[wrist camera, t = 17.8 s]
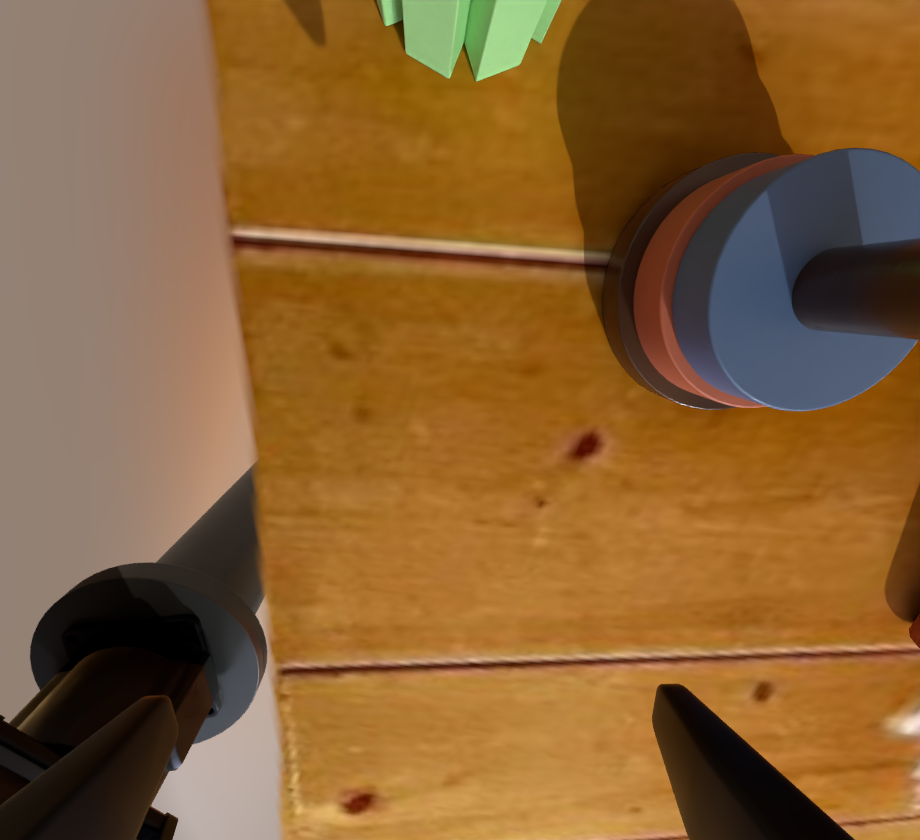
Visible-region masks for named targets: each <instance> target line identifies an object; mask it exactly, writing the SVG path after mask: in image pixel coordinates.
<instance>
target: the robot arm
mask: <svg viewBox="0 0 920 840" xmlns="http://www.w3.org/2000/svg"><path fill="white" fill-rule="evenodd" d="M187 624H189V625H191V626H188V625H187ZM61 641H62V643H63V646H64V649H65V651H66V654H67V657H68V659H69V662H68V663H67V664H66V665H65V666H64V667H63V668H62V669H61V670H60V671H59V672H58V673H57V674H56V675H55V676H54V677H53V678H52V679H51V680H50V681H49V682H48V683H47V684H46V686H45V687H44V688H43V689H42V690H41V691H40V692H39V693H38V694H37V695H36V696H35V697H34V698H33V699H32V700H31V701H30V702H29V703H28V704H27V705H26V706H25V707H24V708H23V709H22V710H21V711H20V712H19V713H18V715H17V716H16V717H15V718H14V719H13V720H12V721H11V722H10V723H7V722H5V721H3V719H4V718H5V717H3V716H2V715H0V840H172V839H173V836H174V832H175V829H176V825H177V822H178V818H176V817H174V816H173V815H171V814H169V813H166V814H163V813H162V812H160V811H158V810H156V809H155V808H153V807H151V804H152V802H153V800H154V798H155V797H156V795H157V793H158V791H159V789H160V787H161V785H162V784H163V782H164V780H165V778H166V776H167V774H168V772H169V771H173V770H177V769H178V768H179V767H180V765H181V764H182V763H183V761H184V759H185V757H186V755H187V753H188V751H189V749H190V747H191V746H192V744H193V742H194V740H195V738H196V736H197V734H198V732H199V730H200V728H201V726H202V724H203V722H204V720H205V718H212V717H215V716H216V715H217V714H218V712H219V710H220V708H221V706H222V702H221V698H220V694H219V691H220V688H219V684H218V680H217V676H216V672H215V668H214V664H213V661H212V657H211V654H210V653H209V651H208V648H207V644H206V640H205V637H204V633H203V629H202V625H201V621H200V619H199V618H198V617H197V616H196V615H193V614H181V615H170V616H160V617H149V618H138V619H127V620H116V621H106V622H95V623H84V624H74V625H71V626H70V627H68V628H67V629H66V630H65V631H64V632H63V633H62V635H61ZM652 722H653V728H654V732H655V735H656V738H657V742H658V745H659V748H660V751H661V754H662V757H663V760H664V764H665V767H666V770H667V773H668V776H669V779H670V783H671V786H672V789H673V792H674V795H675V798H676V801H677V805H678V808H679V811H680V814H681V817H682V820H683V823H684V826H685V829H686V832H687V835H688V837H689V840H855V839H853V838H852V837H851V836H850V835H849V834H848V833H847V832H846V831H845V830H843V829H842V828H841V827H840V826H839V825H838V824H837V823H836V822H835V821H833V820H832V819H831V818H830V817H829V816H828V815H827V814H826V813H825V812H823V811H822V810H821V809H820V808H819V807H818V806H817V805H816V804H815V803H813V802H812V801H811V800H810V799H809V798H808V797H807V796H806V795H805V794H803V793H802V792H801V791H800V790H799V789H798V788H797V787H796V786H795V785H793V784H792V783H791V782H790V781H789V780H788V779H787V778H786V777H785V776H783V775H782V774H781V773H780V772H779V771H778V770H777V769H776V768H775V767H773V766H772V765H771V764H770V763H769V762H768V761H767V760H766V759H765V758H763V757H762V756H761V755H760V754H759V753H758V752H757V751H756V750H755V749H753V748H752V747H751V746H750V745H749V744H748V743H747V742H746V741H745V740H743V739H742V738H741V737H740V736H739V735H738V734H737V733H736V732H735V731H733V730H732V729H731V728H730V727H729V726H728V725H727V724H726V723H725V722H723V721H722V720H721V719H720V718H719V717H718V716H717V715H716V714H715V713H713V712H712V711H711V710H710V709H709V708H708V707H707V706H706V705H705V704H703V703H702V702H701V701H700V700H699V699H698V698H697V697H696V696H695V695H693V694H692V693H691V692H690V691H689V690H688V689H687V688H685V687H684V686H682V685H680V684H661V685H659V686H658V687H657V691H656V697H655V703H654V709H653V714H652Z"/></svg>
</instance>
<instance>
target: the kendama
mask: <svg viewBox="0 0 920 840" xmlns="http://www.w3.org/2000/svg"><path fill="white" fill-rule="evenodd" d="M909 633H910V637H911V639H912V640H913V641H914V642H915V644H916V645H917V646H918V647H919V648H920V614H919V615H918V617H917V618H916V620H915V621H914V622H913V624H912V625H911V627H910V628H909Z"/></svg>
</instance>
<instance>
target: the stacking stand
mask: <svg viewBox="0 0 920 840" xmlns="http://www.w3.org/2000/svg"><path fill="white" fill-rule="evenodd" d="M602 298H603V318H604V325H605V330H606V333H607V337H608V341H609V343H610V345H611V348H612V350H613V352H614V354H615V356H616V358H617V359H618V361H619V363H620V364H621V366H622V367H623V368H624V369H625V371H626V372H627V373H628V374H629V375H630V376H631V377H632V378H633V379H634V380H635V381H636V382H637V383H639V384H640V385H641V386H643V387H644V388H646V389H647V390H649V391H651V392H653V393H655V394H657V395H659V396H662V397H664V398H666V399H669V400H671V401H673V402H676V403H678V404H681V405H685V406H688V407H692V408H698V409H705V410H721V409H729V408H736V407H743V408H758V407H765V406H768V407H771V408H774V409H779V410H786V411H808V410H816V409H822V408H825V407H829V406H833V405H836V404H839V403H841V402H844V401H846V400H849V399H851V398H853V397H855V396H857V395H859V394H861V393H863V392H864V391H866V390H867V389H869V388H870V387H872V386H873V385H875V384H876V383H878V382H879V381H880V380H881V379H883V378H884V377H885V376H886V375H887V374H889V373H890V372H891V371H892V370H893V369H894V368H895V367H896V366H897V365H898V364H899V363H900V362H901V361H902V360H903V359H904V358H905V356H906V355H907V354H908V353H909V352H910V350H911V349H912V348H913V347H914V345H915V344H916V342H917V341H918V340H920V172H919V171H918V170H917V169H916V168H915V167H913V166H912V165H910V164H909V163H907V162H906V161H904V160H903V159H901V158H899V157H897V156H894V155H892V154H890V153H887V152H883V151H878V150H874V149H865V148H848V149H838V150H833V151H830V152H826V153H822V154H818V155H816V156H815V155H804V154H793V155H783V156H780V155H776V154H771V153H755V152H754V153H744V154H736V155H732V156H728V157H724V158H720V159H718V160H715V161H713V162H711V163H708V164H706V165H703V166H701V167H699V168H697V169H695V170H692V171H690V172H688V173H686V174H684V175H682V176H680V177H678V178H676V179H675V180H673V181H671V182H669V183H668V184H666V185H665V186H664V187H662V188H661V189H660V190H658V191H657V192H656V193H654V194H653V195H652V196H651V197H650V198H649V199H648V200H647V201H646V202H645V203H644V204H643V205H642V206H641V207H640V208H639V209H638V211H637V212H636V213H635V214H634V216H633V217H632V218H631V219H630V221H629V222H628V224H627V225H626V227H625V229H624V230H623V232H622V233H621V235H620V237H619V239H618V241H617V243H616V245H615V247H614V249H613V252H612V255H611V258H610V261H609V263H608V267H607V271H606V275H605V280H604V288H603V297H602Z"/></svg>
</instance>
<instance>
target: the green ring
mask: <svg viewBox="0 0 920 840" xmlns="http://www.w3.org/2000/svg"><path fill="white" fill-rule="evenodd" d="M376 1H377V4H378V7H379V10H380V13H381V16H382V19H383V22H384V24H385V26H389V25H391V24H394V23H396V22H399V21H401V20H403V23H404V37H405V52H406V54H408V55H409V56H411V57H413V58H414V59H416V60H418V61H419V62H421V63H423V64H424V65H426V66H428V67H429V68H431V69H433V70H435V71H436V72H438V73H440V74H441V75H443V76H445V77H446V78H450V76H451V74H452V71H453V69H454V66H455V63H456V61H457V58H458V56H459V53H460V51H461V48H462V46H463V43H465V46H466V50H467V53H468V56H469V60H470V63H471V67H472V70H473V74H474V77H475V80H476V81H479V80H482V79H485V78H487V77H490V76H492V75H495V74H498V73H500V72H503V71H505V70H508V69H510V68H513V67H516V66H518V65H520V63H521V61H522V59H523V56H524V54H525V51H526V49H527V47H528V44H529V42H530V40H531V38H532V39H534V40H536V41H537V42H539V43H541V42H542V41H543V38H544V36H545V34H546V32H547V30H548V28H549V26H550V24H551V22H552V19H553V17H554V15H555V13H556V11H557V9H558V7H559V5H560V2H561V0H376Z"/></svg>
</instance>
